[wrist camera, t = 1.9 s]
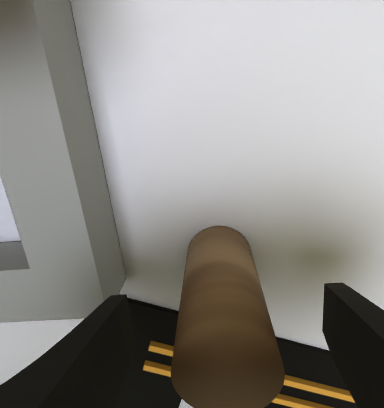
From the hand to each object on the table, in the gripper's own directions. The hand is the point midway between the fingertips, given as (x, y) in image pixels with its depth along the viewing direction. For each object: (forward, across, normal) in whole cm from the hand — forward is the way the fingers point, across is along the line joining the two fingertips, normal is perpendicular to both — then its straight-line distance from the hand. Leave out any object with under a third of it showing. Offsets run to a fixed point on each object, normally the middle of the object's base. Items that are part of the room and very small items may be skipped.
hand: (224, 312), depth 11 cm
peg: (+4, 0, 0) cm, 4 cm away
